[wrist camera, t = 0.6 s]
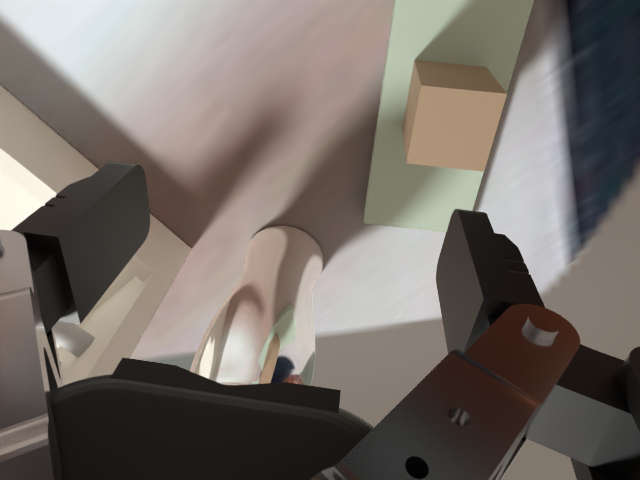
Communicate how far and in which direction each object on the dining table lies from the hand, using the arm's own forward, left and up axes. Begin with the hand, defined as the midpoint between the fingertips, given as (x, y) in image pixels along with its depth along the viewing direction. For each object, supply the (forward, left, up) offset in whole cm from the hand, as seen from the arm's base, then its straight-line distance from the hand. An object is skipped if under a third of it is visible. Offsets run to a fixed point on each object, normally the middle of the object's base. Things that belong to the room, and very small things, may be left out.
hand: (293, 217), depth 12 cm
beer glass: (+16, -3, -19) cm, 25 cm away
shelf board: (+2, +6, -19) cm, 20 cm away
